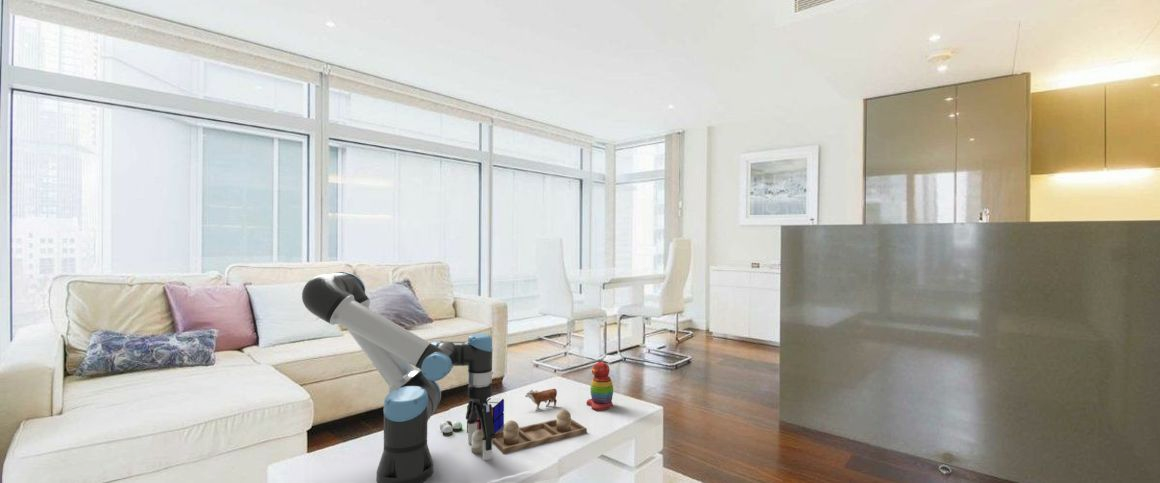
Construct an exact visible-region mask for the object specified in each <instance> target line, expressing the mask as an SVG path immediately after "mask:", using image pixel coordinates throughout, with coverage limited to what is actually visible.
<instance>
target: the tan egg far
mask: <svg viewBox="0 0 1160 483" xmlns="http://www.w3.org/2000/svg"><path fill="white" fill-rule="evenodd" d="M556 419H557V431H558V432H562V433H565V432H569V431H570V430H571V419H572V416H571V413H570V411H569V410H568V409H565V408H563V409H561V410H559V411H557V414H556Z"/></svg>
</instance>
